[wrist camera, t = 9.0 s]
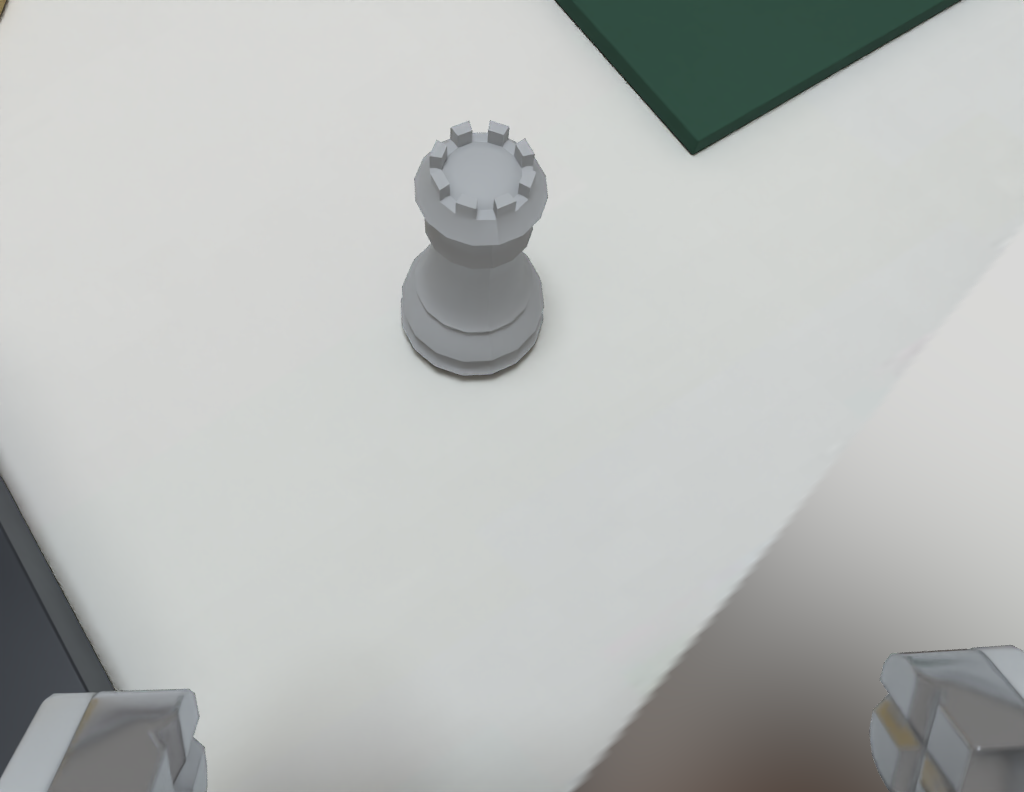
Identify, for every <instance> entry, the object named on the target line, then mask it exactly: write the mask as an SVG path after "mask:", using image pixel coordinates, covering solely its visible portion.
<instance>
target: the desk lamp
mask: <svg viewBox="0 0 1024 792" xmlns="http://www.w3.org/2000/svg"><path fill="white" fill-rule="evenodd" d="M5 2H6V0H0V15H1V12H2V10H3V7H4V5H5Z"/></svg>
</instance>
